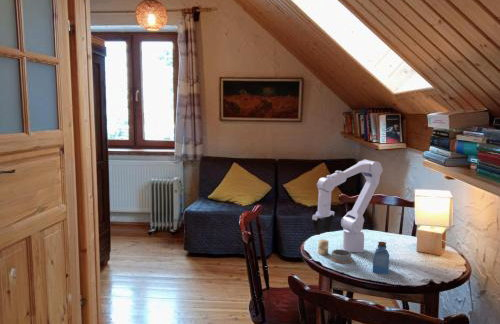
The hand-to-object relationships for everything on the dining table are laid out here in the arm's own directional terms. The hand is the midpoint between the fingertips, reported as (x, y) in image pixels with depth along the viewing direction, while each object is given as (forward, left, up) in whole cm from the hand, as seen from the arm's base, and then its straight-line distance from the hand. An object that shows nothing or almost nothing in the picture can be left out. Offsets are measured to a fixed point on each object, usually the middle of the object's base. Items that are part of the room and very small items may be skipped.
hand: (322, 232), depth 188 cm
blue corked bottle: (-22, +19, -10) cm, 30 cm away
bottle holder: (-8, +7, -10) cm, 14 cm away
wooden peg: (-1, 0, -10) cm, 10 cm away
